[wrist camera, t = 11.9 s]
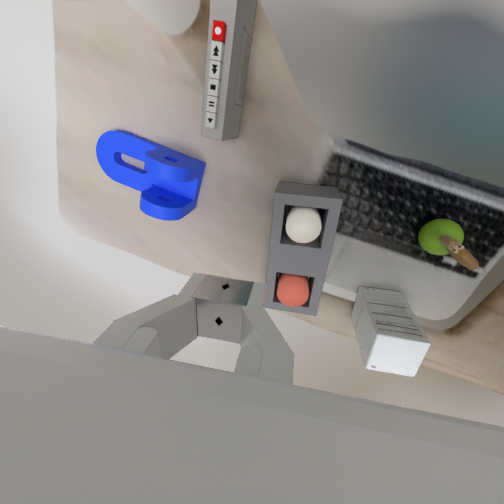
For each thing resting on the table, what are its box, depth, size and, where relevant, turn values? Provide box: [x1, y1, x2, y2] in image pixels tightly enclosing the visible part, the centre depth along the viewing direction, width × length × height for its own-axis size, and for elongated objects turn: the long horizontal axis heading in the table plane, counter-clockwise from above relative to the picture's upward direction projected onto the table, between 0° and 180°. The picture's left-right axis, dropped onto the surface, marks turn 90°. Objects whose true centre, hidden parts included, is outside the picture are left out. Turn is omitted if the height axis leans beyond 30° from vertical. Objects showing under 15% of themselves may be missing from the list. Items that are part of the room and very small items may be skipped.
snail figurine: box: [418, 219, 479, 270], centre depth 34 cm, size 5×6×12 cm
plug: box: [286, 205, 321, 243], centre depth 38 cm, size 5×5×6 cm
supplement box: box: [351, 287, 431, 377], centre depth 42 cm, size 7×7×13 cm
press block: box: [265, 182, 343, 316], centre depth 41 cm, size 9×20×8 cm, turn 176°
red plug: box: [277, 273, 309, 307], centre depth 42 cm, size 5×5×6 cm
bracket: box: [96, 131, 206, 220], centre depth 39 cm, size 18×8×9 cm, turn 70°
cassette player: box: [201, 0, 257, 140], centre depth 30 cm, size 16×3×10 cm, turn 169°
